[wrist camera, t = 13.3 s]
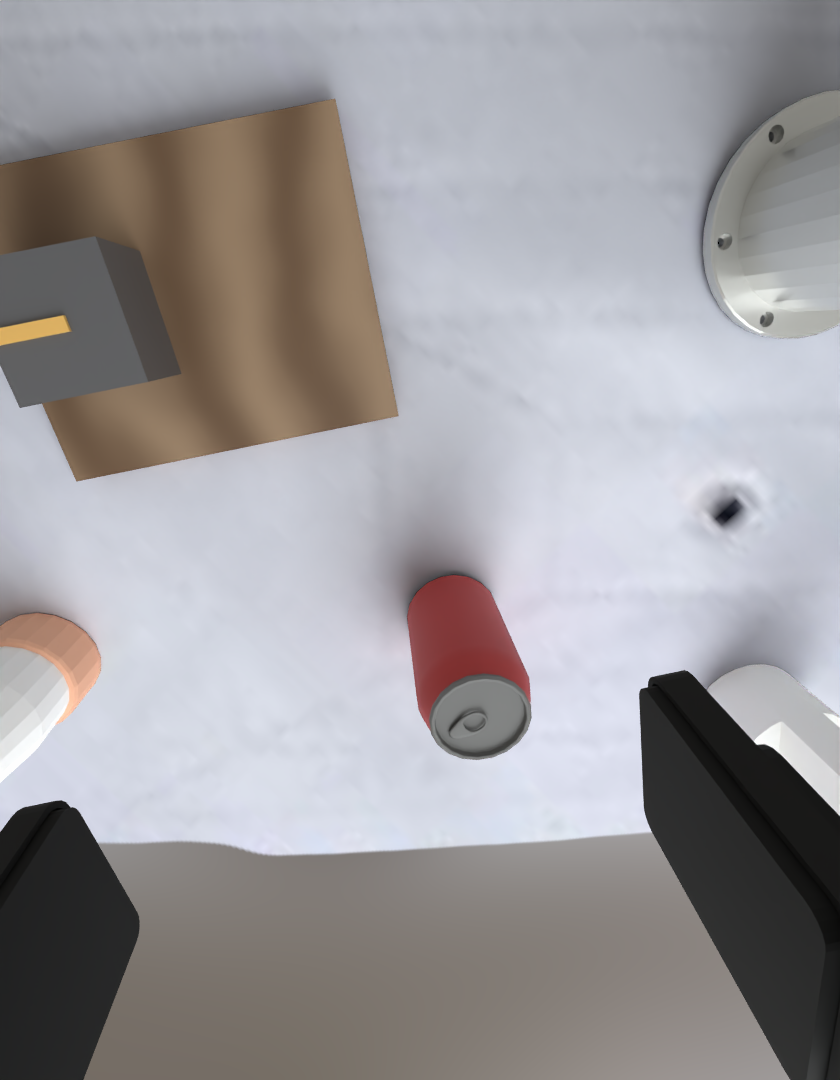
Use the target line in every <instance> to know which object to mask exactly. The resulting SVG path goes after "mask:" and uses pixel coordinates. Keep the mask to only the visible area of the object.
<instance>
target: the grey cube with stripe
mask: <svg viewBox="0 0 840 1080" xmlns="http://www.w3.org/2000/svg"><path fill="white" fill-rule="evenodd" d="M0 365H1V368H2V370H3V372H4V374H5V376H6V379H7V381H8V383H9V385H10V387H11V389H12V392H13V394H14V396H15V398H16V400H17V403H18V405H19V407H20V408H22V407H26V406H31V405H36V404H41V403H46V402H51V401H56V400H61V399H66V398H71V397H76V396H81V395H86V394H91V393H96V392H101V391H106V390H111V389H116V388H121V387H126V386H130V385H135V384H140V383H145V382H150V381H154V380H158V379H162V378H167V377H171V376H175V375H179V374H181V371H180V368H179V365H178V362H177V359H176V356H175V353H174V350H173V347H172V344H171V341H170V338H169V335H168V333H167V330H166V327H165V324H164V321H163V318H162V315H161V312H160V309H159V306H158V303H157V300H156V297H155V294H154V291H153V288H152V285H151V282H150V279H149V276H148V274H147V271H146V268H145V265H144V262H143V259H142V256H141V253H140V251H138V250H135V249H132V248H129V247H126V246H123V245H120V244H117V243H114V242H111V241H108V240H105V239H102V238H99V237H96V236H94V237H89V238H84V239H79V240H74V241H69V242H64V243H59V244H54V245H49V246H44V247H39V248H34V249H29V250H24V251H19V252H14V253H9V254H3V255H0Z"/></svg>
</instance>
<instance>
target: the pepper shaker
mask: <svg viewBox="0 0 840 1080" xmlns="http://www.w3.org/2000/svg"><path fill="white" fill-rule="evenodd" d="M100 671H101V657H100V655H99V652H98V650H97V647H96V644H95V643H94V642H93V641H92V639H91V638H90V637H89V636H88V635H87V633H86V632H85V631H83V630H82V629H81V628H79V627H78V626H76V625H75V624H74V623H72V622H70V621H68V620H65V619H63V618H60V617H58V616H55V615H49V614H41V613H32V614H25V615H19V616H17V617H15V618H13V619H11V620H8V621H6V622H5V623H4V624H2V625H1V626H0V782H1V781H2V780H3V779H4V778H6V777H7V776H8V775H9V774H10V773H11V772H12V771H13V770H15V769H16V768H17V767H18V766H19V765H20V764H21V763H22V762H23V761H25V760H26V759H27V758H28V757H29V756H30V755H31V754H32V753H33V752H34V751H35V750H36V749H37V748H38V747H39V745H40V744H41V743H42V741H43V740H44V739H45V737H46V736H47V735H48V733H49V732H50V731H51V729H52V728H53V727H54V725H56V724H58V723H60V722H62V721H63V720H65V719H66V718H67V717H68V716H69V715H70V714H71V713H72V712H73V711H74V709H75V708H76V707H77V706H78V704H79V703H80V702H81V700H82V699H83V698H84V697H85V695H86V694H87V693H88V691H89V690H90V689H91V688H92V686H93V685H94V684H95V682H96V680H97V678H98V676H99V673H100Z"/></svg>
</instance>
